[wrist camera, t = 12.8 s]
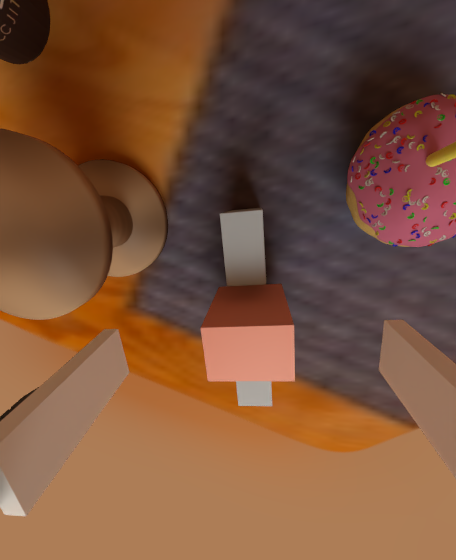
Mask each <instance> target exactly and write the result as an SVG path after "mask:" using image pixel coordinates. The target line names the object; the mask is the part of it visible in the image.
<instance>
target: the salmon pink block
mask: <svg viewBox="0 0 456 560" xmlns="http://www.w3.org/2000/svg"><path fill="white" fill-rule="evenodd" d="M201 334H202V341H203V348H204V356H205V363H206V370H207V378H208V381H295V359H294V324H293V320H292V317H291V314H290V311H289V307H288V304H287V301H286V297H285V294H284V291H283V287H282V284H267V285H248V286H229V287H219V288H218V291H217V293H216V295H215V297H214V300H213V302H212V304H211V306H210V308H209V311H208V313H207V315H206V317H205V320H204V322H203V324H202V326H201Z"/></svg>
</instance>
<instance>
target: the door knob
mask: <svg viewBox="0 0 456 560" xmlns="http://www.w3.org/2000/svg"><path fill="white" fill-rule="evenodd" d="M167 233H168V219H167V213H166V208H165V206H164V203H163V200H162V198H161V196H160V194H159V193H158V191H157V189H156V188H155V187H154V185H153V184H152V183H151V182H150V181H149V180H148V179H147V178H146V177H145V176H144V175H143V174H142V173H140V172H139V171H137V170H136V169H134V168H132V167H130V166H128V165H125V164H122V163H119V162H115V161H111V160H103V159H102V160H92V161H87V162H85V163H82V164H80V165H77V164H75V163H74V162H73V161H72V160H71V159H70V158H69V157H68V156H66V155H65V154H64V153H62V152H61V151H60V150H58V149H57V148H55V147H53V146H51V145H50V144H48V143H46V142H44V141H41V140H39V139H36V138H34V137H30V136H27V135H24V134H20V133H17V132H13V131H9V130H5V129H0V310H1V311H3V312H5V313H8V314H10V315H14V316H17V317H21V318H27V319H40V320H42V319H52V318H55V317H59V316H62V315H65V314H67V313H69V312H71V311H73V310H74V309H76V308H78V307H80V306H81V305H83V304H84V303H86V302H87V301H89V300H90V299H91V298H92V297H93V296H95V295H96V293H97V292H98V291H99V290H100V288H101V287H102V285H103V284H104V282H105V280H106V278H107V276H114V277H122V276H129V275H132V274H135V273H137V272H140V271H141V270H143V269H145V268H146V267H148V266H149V265H151V264H152V263H153V262H154V261H155V260H156V259H157V258H158V256H159V255H160V253H161V252H162V250H163V248H164V245H165V242H166V239H167Z"/></svg>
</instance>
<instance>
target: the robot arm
mask: <svg viewBox="0 0 456 560" xmlns="http://www.w3.org/2000/svg"><path fill="white" fill-rule="evenodd" d="M379 371H380V373H381V374H382V375H383V377H384V378H385V380H386V381H387V382H388V384H389V385H390V387H391V388H392V389H393V391H394V392H395V394H396V395H397V397H398V398H399V399H400V401H401V402H402V404H403V405H404V406H405V408H406V409H407V411H408V412H409V413H410V415H411V416H412V418H413V419H414V420H415V422H416V423H417V425H418V426H419V428H420V429H421V430H422V432H423V433H424V435H425V436H426V437H427V439H428V440H429V442H430V443H431V444H432V446H433V447H434V448H435V450H436V451H437V453H438V454H439V456H440V457H441V459H442V460H443V461H444V463H445V464H446V466H447V467H448V468H449V470H450V471H451V473H452V474H453V475H454V477H455V478H456V364H455V363H454V362H453V361H451V360H450V359H449V358H448V357H447V356H445V355H444V354H443V353H442V352H441V351H439V350H438V349H437V348H436V347H435V346H433V345H432V344H431V343H430V342H429V341H427V340H426V339H425V338H424V337H423V336H422V335H420V334H419V333H418V332H417V331H416V330H414V329H413V328H412V327H411V326H410V325H408V324H407V323H406V322H405V321H404V320H385V321H384V330H383V338H382V347H381V356H380V365H379ZM128 374H129V370H128V366H127V362H126V358H125V354H124V350H123V347H122V343H121V339H120V335H119V331H118V329H104V330H103V331H102V332H101V333H100V334H99V335H98V336H97V337H95V338H94V339H93V340H92V341H91V342H90V343H89V344H87V345H86V346H85V347H84V348H83V349H82V350H81V351H80V352H78V353H77V354H76V355H75V356H74V357H73V358H72V359H71V360H69V361H68V362H67V363H66V364H65V365H64V366H63V367H61V368H60V369H59V370H58V371H57V372H56V373H55V374H54V375H52V376H51V377H50V378H49V379H48V380H47V381H46V382H44V383H43V384H42V385H41V386H40V387H38V388H37V389H35V390H33V391H32V392H30V393H28V394H27V395H25V396H24V397H22V398H21V399H20V400H19V401H18V402H17V403H15V404H14V405H13V406H12V407H11V409H10V410H7V411H6V412H5V413H4V414H3V415H2V416H0V507H1V509H2V511H3V513H4V514H5V515H17V516H27V515H28V513H29V512H30V510H31V509H32V508H33V506H34V505H35V503H36V502H37V501H38V499H39V498H40V496H41V495H42V493H43V492H44V491H45V489H46V488H47V487H48V485H49V484H50V482H51V481H52V480H53V478H54V477H55V475H56V474H57V473H58V471H59V470H60V469H61V467H62V466H63V464H64V463H65V461H66V460H67V459H68V457H69V456H70V454H71V453H72V452H73V450H74V449H75V448H76V446H77V445H78V443H79V442H80V440H81V439H82V438H83V436H84V435H85V434H86V432H87V431H88V429H89V428H90V426H91V425H92V424H93V422H94V421H95V420H96V418H97V417H98V415H99V414H100V413H101V411H102V410H103V408H104V407H105V406H106V404H107V403H108V401H109V400H110V399H111V397H112V395H113V394H114V393H115V391H116V390H117V389H118V388H119V386H120V385H121V383H122V382H123V380H124V379H125V378H126V376H127V375H128Z"/></svg>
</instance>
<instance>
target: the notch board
mask: <svg viewBox="0 0 456 560" xmlns="http://www.w3.org/2000/svg"><path fill="white" fill-rule="evenodd" d="M220 221H221V231H222V241H223V252H224V262H225V272H226V282H227V286H248V285H265V284H266V271H265V250H264V230H263V210H262V209H261V208H253V209H242V210H231V211H228V212H224V213H221V214H220ZM236 385H237V395H238V405H239V406H272V391H271V381H236Z"/></svg>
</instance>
